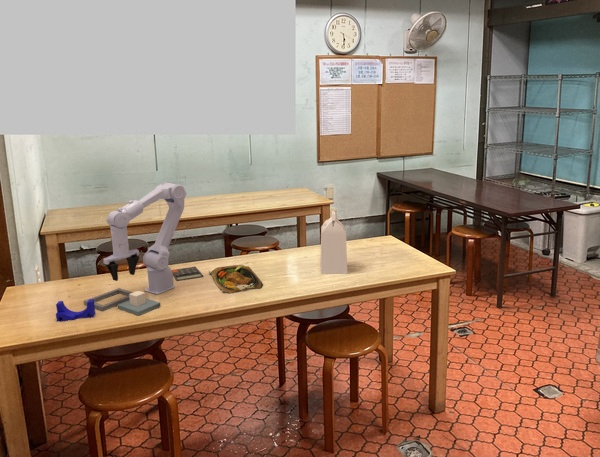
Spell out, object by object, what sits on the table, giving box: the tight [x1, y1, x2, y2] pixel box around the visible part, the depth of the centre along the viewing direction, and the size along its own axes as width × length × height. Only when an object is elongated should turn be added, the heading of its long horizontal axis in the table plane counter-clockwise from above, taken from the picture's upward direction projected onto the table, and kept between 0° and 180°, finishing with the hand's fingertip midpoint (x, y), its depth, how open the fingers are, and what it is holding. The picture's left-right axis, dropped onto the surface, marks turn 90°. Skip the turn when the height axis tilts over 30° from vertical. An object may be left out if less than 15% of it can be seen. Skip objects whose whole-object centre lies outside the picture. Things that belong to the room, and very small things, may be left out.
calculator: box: [171, 266, 204, 282], centre depth 229 cm, size 12×1×15 cm
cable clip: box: [55, 298, 96, 322], centre depth 185 cm, size 12×4×6 cm, turn 97°
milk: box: [320, 210, 348, 275], centre depth 228 cm, size 12×12×26 cm
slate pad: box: [116, 297, 161, 317], centre depth 193 cm, size 10×12×2 cm
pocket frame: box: [83, 287, 134, 312], centre depth 200 cm, size 16×12×2 cm
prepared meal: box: [208, 264, 264, 294], centre depth 220 cm, size 28×4×18 cm
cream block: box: [129, 290, 146, 306], centre depth 193 cm, size 4×4×4 cm
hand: (124, 277), depth 198 cm, fingers open, 7 cm apart
